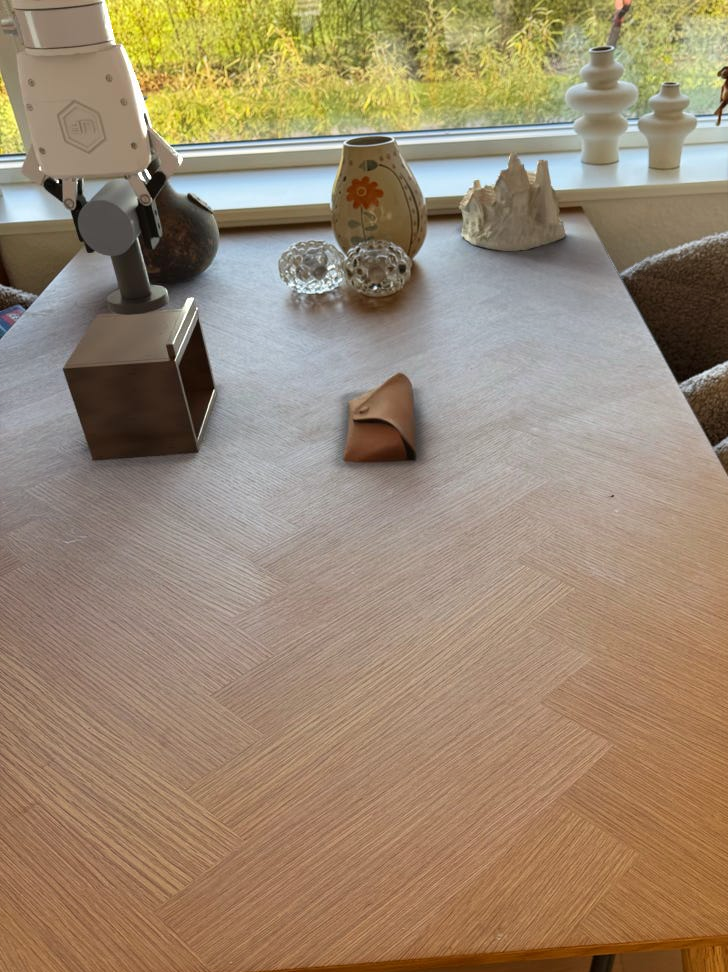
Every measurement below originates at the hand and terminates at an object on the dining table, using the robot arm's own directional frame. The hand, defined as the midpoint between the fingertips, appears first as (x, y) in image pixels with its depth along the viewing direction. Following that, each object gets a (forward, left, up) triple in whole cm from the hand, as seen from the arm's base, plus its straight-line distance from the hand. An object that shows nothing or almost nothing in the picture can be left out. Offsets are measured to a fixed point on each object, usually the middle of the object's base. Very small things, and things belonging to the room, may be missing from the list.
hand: (123, 245), depth 94 cm
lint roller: (0, 0, -6) cm, 6 cm away
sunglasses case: (+23, +2, -24) cm, 33 cm away
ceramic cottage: (+46, +74, -24) cm, 90 cm away
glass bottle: (-12, +65, -24) cm, 70 cm away
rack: (-4, +9, -23) cm, 25 cm away
